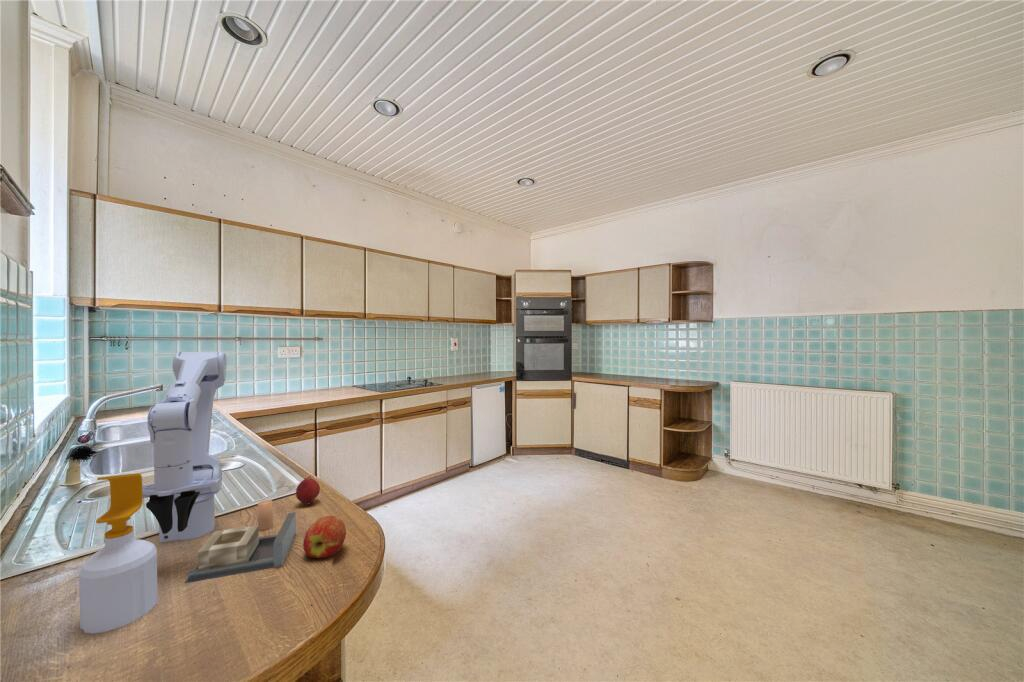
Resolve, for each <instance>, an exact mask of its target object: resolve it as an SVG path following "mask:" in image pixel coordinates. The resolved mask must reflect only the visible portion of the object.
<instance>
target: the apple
mask: <svg viewBox="0 0 1024 682" xmlns="http://www.w3.org/2000/svg"><path fill="white" fill-rule="evenodd" d="M344 522H345V521H343V519H341V518H340V517H338V516H336V515H326V516H323V517H320V518H319V519H317V520H315V521H314V522H313V523H311V525H310V527H309V528H308V529H307V531H306V533H305V535H304V538H303V541H302V542H303V544H302V545H303V550H304V552H305V555H307V556H308V557H310V558H311V559H315V560H316V559H318V560H321V559H322V560H323V559H327V558H330V557H332V556H334V555H335V554H337V552H339V551H340V550H341V547H342V546H343V545H344V542H345V540H346V535H347V529H346V528H347V527H346V525H345V523H344Z"/></svg>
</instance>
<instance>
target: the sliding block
mask: <svg viewBox="0 0 1024 682" xmlns="http://www.w3.org/2000/svg"><path fill="white" fill-rule="evenodd" d="M259 532H260V531H259V525H258V524H257V525H251V526H244V527H237V528H229V529H222V530H215V531H214V532H213V533H212V534H211V535H210V537H209V538H208V539H207V541H206V542H205V543H204V544H203V546H201V548H199V550H198V551H197V561H198V562H197V563H198V565H197V567H198V570H200V569H206V568H212V567H218V566H224V565H230V564H236V563H242V562H248V561H249V559H250V558H251V556H252V554H253V552H254V551H255V549H256V547H257V545H258V544H259V537H260V535H259V534H260V533H259Z"/></svg>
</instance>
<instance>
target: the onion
mask: <svg viewBox="0 0 1024 682" xmlns="http://www.w3.org/2000/svg"><path fill="white" fill-rule="evenodd" d="M320 488H321V486H320V484H319V483H318V481H316V479H314V478H312V475H310V474H308V475H306V476H305V478H304V479H303V480H301V481H300V483H298V485H297V487H296V489H295V497H296V499H297V500H298V501H299V502H301V503H303V504H306V505H309V504H308V503H310V504H312V502H313V501H314V500H316V499H317V497H319V496H318V495H319V494H320V490H321V489H320Z"/></svg>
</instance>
